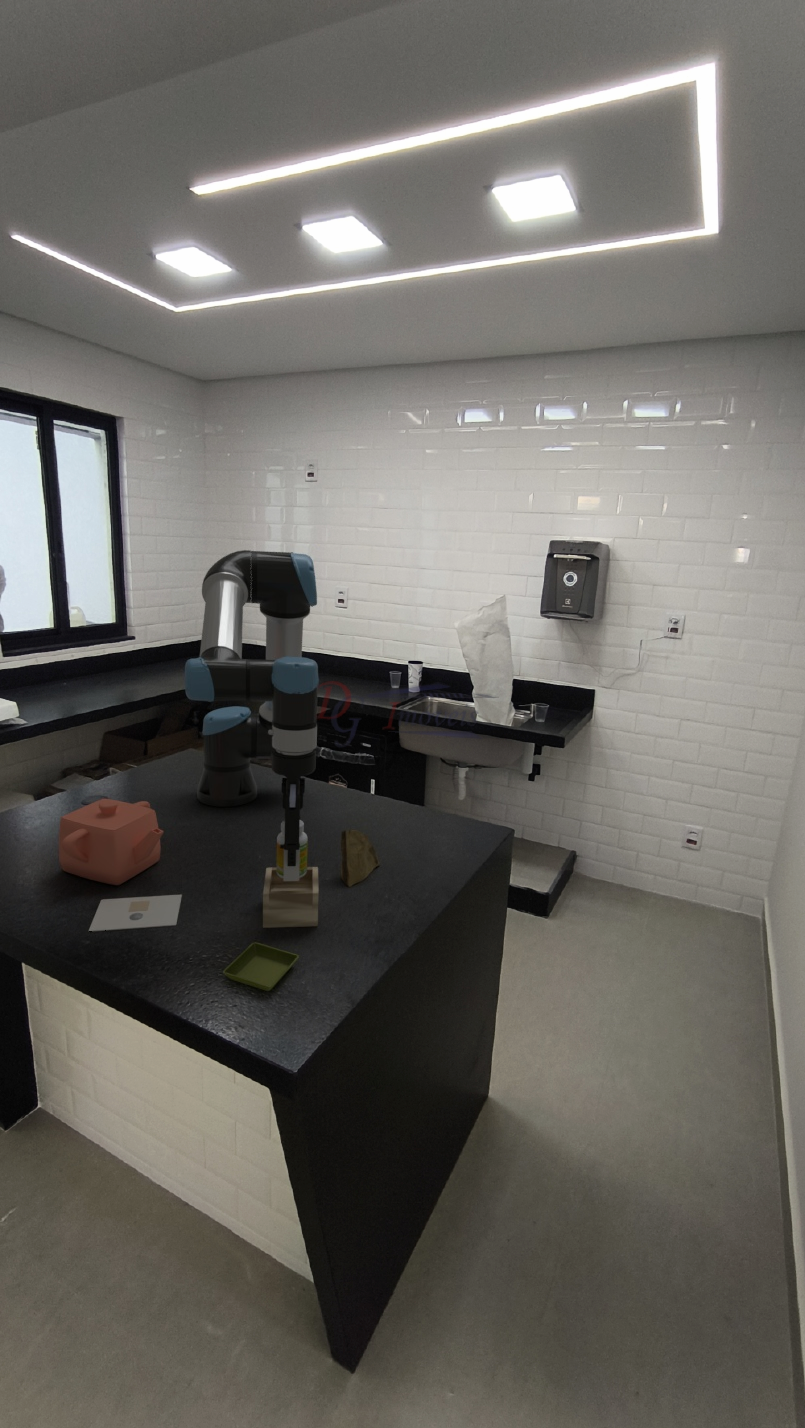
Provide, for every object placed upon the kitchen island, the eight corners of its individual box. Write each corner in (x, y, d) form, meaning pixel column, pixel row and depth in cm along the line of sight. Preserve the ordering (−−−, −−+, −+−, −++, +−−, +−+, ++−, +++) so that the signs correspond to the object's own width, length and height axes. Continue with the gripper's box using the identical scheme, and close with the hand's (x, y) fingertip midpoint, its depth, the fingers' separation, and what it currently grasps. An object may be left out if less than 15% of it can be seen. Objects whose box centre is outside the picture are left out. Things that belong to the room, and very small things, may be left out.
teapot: (36, 883, 122) (30, 816, 118) (122, 838, 142) (119, 779, 139) (120, 908, 116) (116, 837, 112) (197, 857, 136) (196, 795, 132)
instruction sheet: (101, 900, 118) (101, 899, 118) (181, 895, 121) (181, 894, 121) (88, 931, 108) (88, 930, 108) (176, 925, 111) (176, 924, 111)
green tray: (221, 983, 98) (221, 971, 98) (253, 952, 106) (253, 941, 106) (270, 1000, 95) (270, 988, 95) (300, 966, 103) (300, 955, 103)
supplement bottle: (300, 882, 113) (301, 831, 110) (271, 877, 114) (272, 827, 111) (310, 868, 118) (312, 819, 115) (283, 863, 119) (283, 815, 116)
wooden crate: (266, 898, 121) (266, 867, 120) (317, 897, 123) (317, 866, 121) (262, 927, 112) (263, 894, 111) (317, 926, 114) (318, 893, 112)
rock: (371, 845, 141) (329, 847, 136) (387, 826, 135) (343, 826, 130) (383, 892, 134) (339, 895, 130) (400, 873, 129) (354, 876, 124)
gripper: (274, 732, 118) (273, 848, 124) (268, 766, 100) (267, 899, 106) (315, 733, 119) (312, 847, 125) (316, 767, 102) (313, 898, 107)
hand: (291, 871), depth 116 cm, fingers closed on supplement bottle, 5 cm apart
